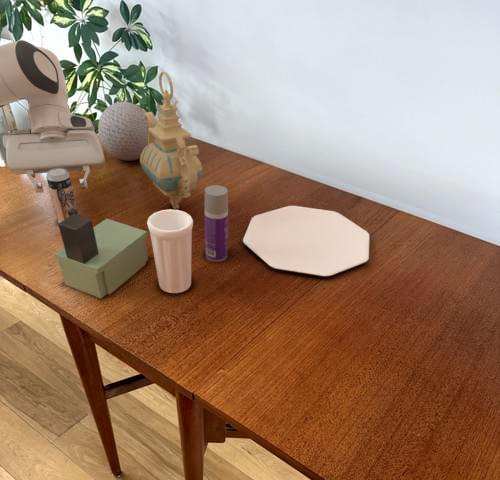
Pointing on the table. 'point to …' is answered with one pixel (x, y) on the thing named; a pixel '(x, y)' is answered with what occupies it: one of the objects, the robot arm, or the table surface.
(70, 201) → the white lidded canister
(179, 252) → the cup
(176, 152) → the ornate tan lantern
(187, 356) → the table surface
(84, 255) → the block
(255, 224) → the plate
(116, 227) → the sage green lidded box
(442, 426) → the table surface
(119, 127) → the decorative ball
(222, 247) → the container
